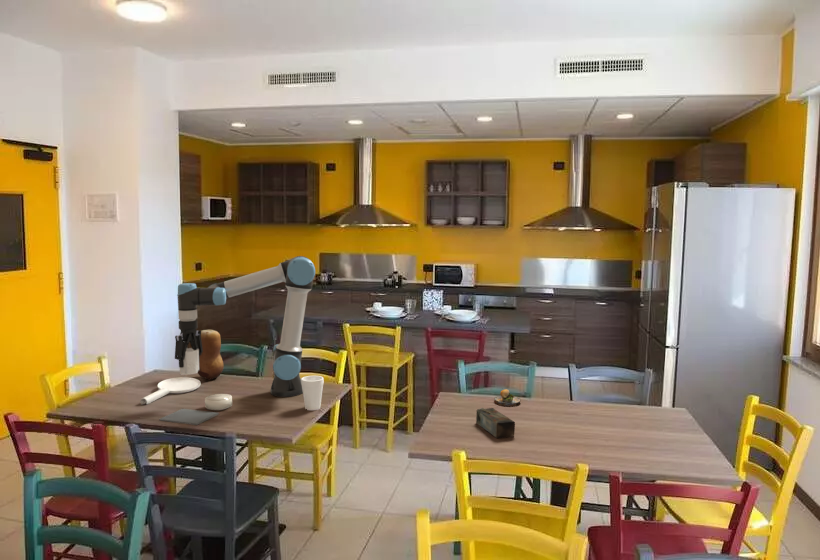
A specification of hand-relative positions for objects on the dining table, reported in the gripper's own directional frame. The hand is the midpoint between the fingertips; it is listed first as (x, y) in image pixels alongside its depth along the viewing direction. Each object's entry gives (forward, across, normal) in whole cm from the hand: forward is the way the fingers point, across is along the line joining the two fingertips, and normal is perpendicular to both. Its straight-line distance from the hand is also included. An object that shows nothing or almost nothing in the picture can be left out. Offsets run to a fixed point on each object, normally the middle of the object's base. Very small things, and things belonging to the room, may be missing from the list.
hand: (189, 372), depth 255 cm
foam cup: (+15, -16, +50) cm, 55 cm away
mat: (+15, +12, +9) cm, 21 cm away
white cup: (0, 0, 0) cm, 0 cm away
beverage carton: (+16, -16, +129) cm, 131 cm away
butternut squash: (+15, -42, -22) cm, 50 cm away
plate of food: (+16, -52, +128) cm, 139 cm away
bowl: (+15, -2, +13) cm, 20 cm away
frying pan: (+16, -13, -23) cm, 30 cm away
